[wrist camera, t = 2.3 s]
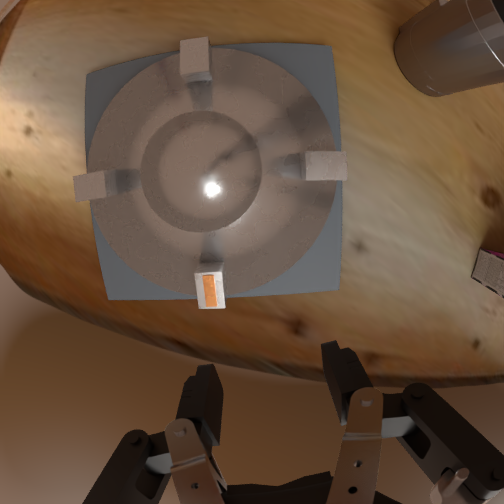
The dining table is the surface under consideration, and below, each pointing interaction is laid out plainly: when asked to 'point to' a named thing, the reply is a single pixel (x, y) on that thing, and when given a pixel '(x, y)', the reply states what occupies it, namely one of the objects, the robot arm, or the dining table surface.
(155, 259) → the clamped metal dish
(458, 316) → the dining table surface
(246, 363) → the dining table surface
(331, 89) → the base plate
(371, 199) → the dining table surface
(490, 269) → the candy bar box
